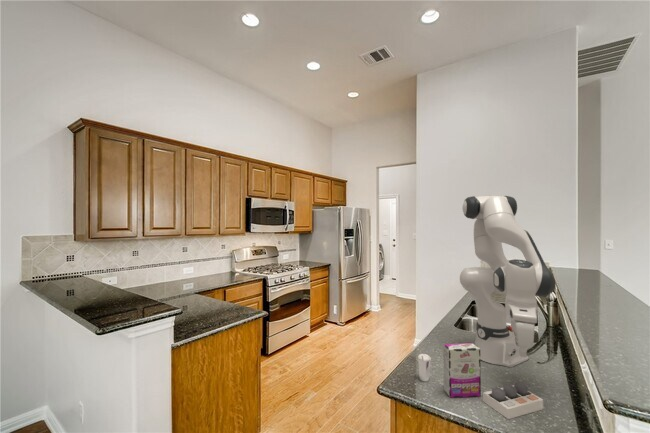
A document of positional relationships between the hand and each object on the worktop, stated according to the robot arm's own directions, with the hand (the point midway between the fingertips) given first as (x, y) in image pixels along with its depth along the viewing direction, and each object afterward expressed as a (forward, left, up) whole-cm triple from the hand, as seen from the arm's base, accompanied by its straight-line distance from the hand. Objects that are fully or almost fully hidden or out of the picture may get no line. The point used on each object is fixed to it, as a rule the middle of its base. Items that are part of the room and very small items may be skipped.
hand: (520, 350), depth 98 cm
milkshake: (+23, -21, -17) cm, 35 cm away
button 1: (+10, 0, -15) cm, 17 cm away
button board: (+5, +1, -17) cm, 17 cm away
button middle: (+5, 0, -15) cm, 15 cm away
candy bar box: (+16, -9, -17) cm, 25 cm away
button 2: (0, 0, -15) cm, 15 cm away
